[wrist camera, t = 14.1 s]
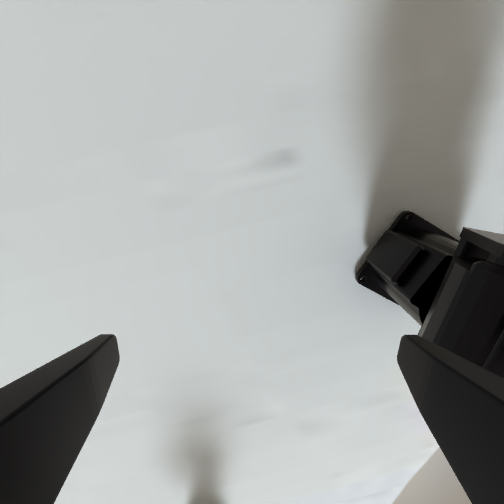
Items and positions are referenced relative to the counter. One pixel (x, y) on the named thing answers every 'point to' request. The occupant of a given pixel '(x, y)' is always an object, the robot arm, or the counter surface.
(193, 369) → the counter surface
